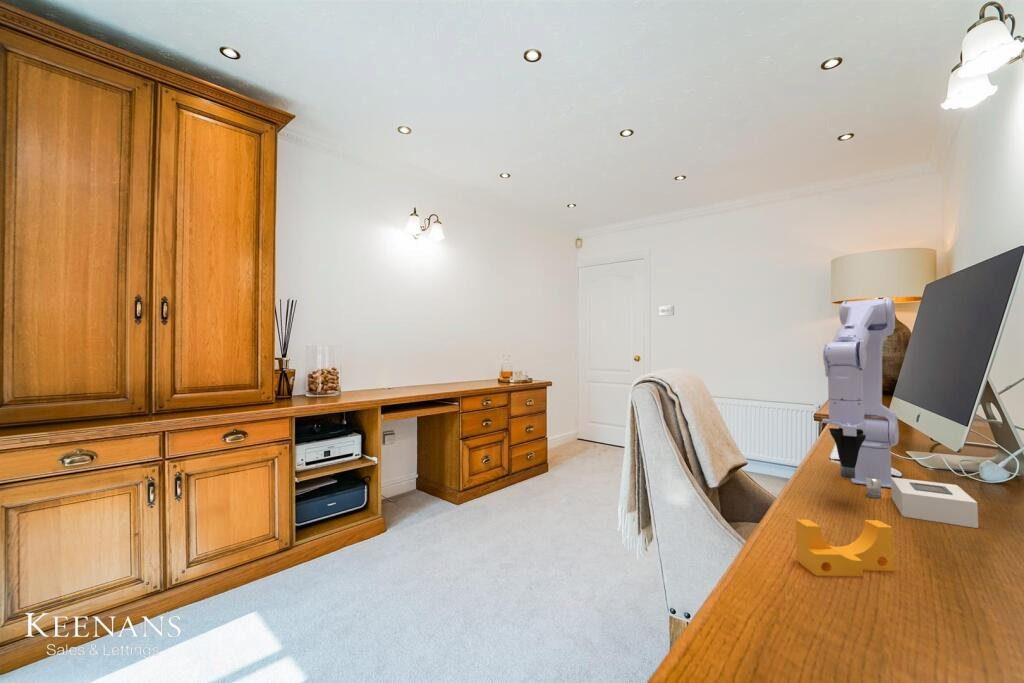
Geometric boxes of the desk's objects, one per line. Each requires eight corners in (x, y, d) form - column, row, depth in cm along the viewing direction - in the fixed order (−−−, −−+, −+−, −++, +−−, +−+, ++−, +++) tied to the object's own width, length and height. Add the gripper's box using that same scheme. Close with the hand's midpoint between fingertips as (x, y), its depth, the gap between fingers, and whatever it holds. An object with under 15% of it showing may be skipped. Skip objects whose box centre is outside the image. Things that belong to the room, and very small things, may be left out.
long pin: (840, 474, 89) (839, 443, 89) (854, 476, 88) (853, 444, 88) (841, 477, 87) (840, 445, 87) (856, 479, 86) (855, 446, 86)
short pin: (866, 494, 94) (865, 476, 94) (880, 496, 92) (879, 478, 92) (867, 497, 92) (867, 479, 92) (882, 499, 90) (881, 480, 90)
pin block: (891, 498, 91) (890, 476, 91) (957, 507, 86) (956, 483, 86) (902, 516, 81) (902, 491, 81) (978, 528, 76) (977, 501, 76)
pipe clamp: (815, 577, 60) (814, 531, 61) (797, 562, 65) (795, 519, 65) (904, 578, 60) (902, 532, 60) (879, 563, 64) (877, 520, 64)
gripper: (820, 395, 96) (822, 455, 96) (823, 402, 84) (825, 470, 84) (860, 396, 92) (862, 459, 92) (869, 404, 80) (871, 476, 80)
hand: (847, 465), depth 88 cm, fingers closed on long pin, 2 cm apart
